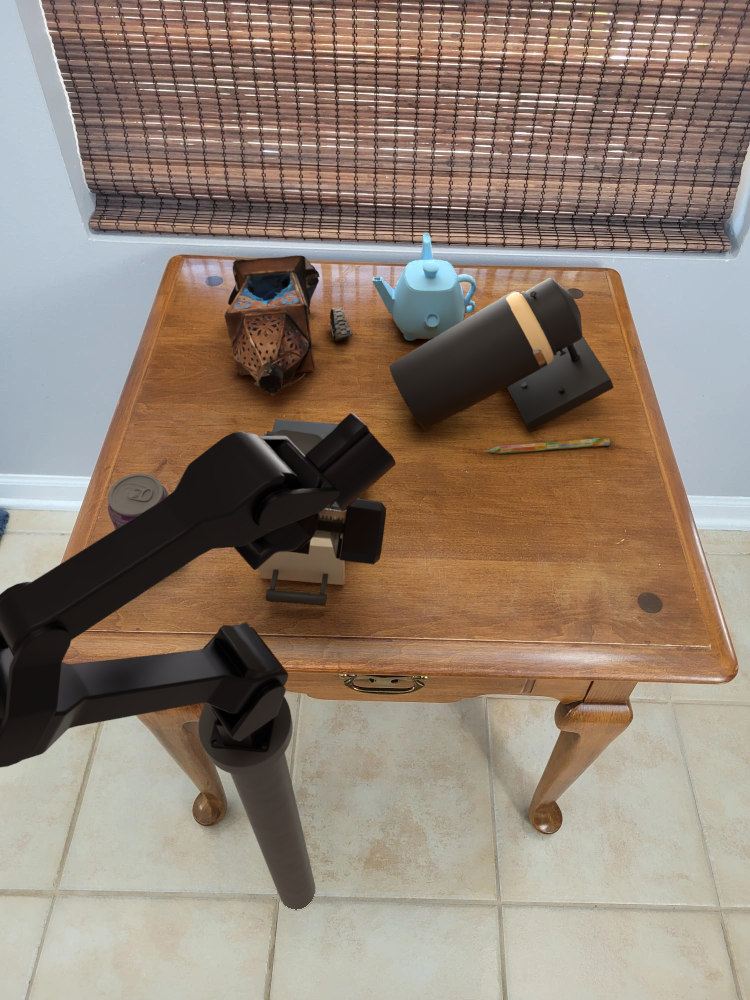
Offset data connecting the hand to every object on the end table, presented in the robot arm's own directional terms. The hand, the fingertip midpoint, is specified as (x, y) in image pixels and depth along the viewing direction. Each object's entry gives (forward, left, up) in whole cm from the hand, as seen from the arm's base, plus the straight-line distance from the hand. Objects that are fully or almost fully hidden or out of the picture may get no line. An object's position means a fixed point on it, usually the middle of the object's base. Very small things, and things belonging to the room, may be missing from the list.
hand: (290, 523), depth 83 cm
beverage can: (+4, +19, -14) cm, 23 cm away
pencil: (+27, -31, -14) cm, 43 cm away
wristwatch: (+49, +1, -14) cm, 51 cm away
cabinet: (+13, 0, -13) cm, 18 cm away
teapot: (+53, -12, -14) cm, 56 cm away
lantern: (+42, +11, -14) cm, 45 cm away
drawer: (+5, 0, -13) cm, 13 cm away
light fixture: (+35, -23, -14) cm, 44 cm away
